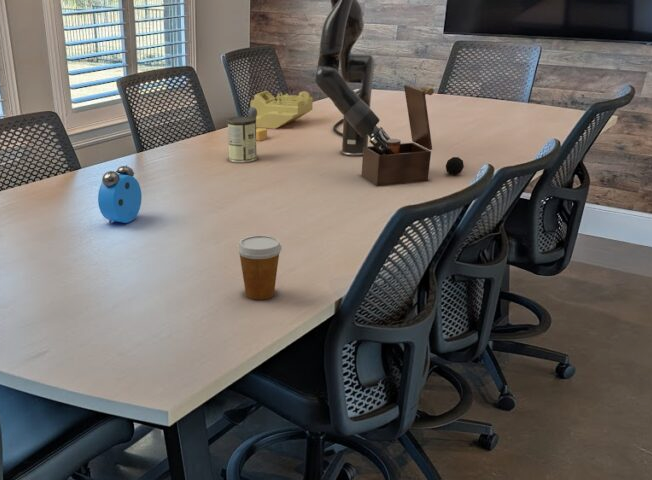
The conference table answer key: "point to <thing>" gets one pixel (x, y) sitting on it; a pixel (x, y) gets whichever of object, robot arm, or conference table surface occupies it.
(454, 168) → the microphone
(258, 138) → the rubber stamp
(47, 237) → the conference table surface
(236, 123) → the coffee can
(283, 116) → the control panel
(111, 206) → the alarm clock
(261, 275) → the disposable coffee cup
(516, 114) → the conference table surface
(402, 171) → the chest
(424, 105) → the lid
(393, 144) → the canister
